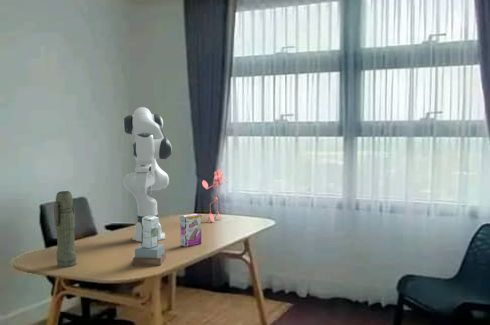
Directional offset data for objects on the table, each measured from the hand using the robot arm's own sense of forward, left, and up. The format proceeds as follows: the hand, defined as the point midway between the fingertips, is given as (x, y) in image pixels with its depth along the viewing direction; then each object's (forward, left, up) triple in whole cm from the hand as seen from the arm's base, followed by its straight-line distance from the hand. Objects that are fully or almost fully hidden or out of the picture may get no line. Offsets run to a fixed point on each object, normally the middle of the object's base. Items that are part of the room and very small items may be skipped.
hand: (146, 196), depth 262 cm
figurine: (-104, +23, -32) cm, 111 cm away
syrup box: (+1, +1, -24) cm, 24 cm away
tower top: (+1, +1, -28) cm, 28 cm away
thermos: (+6, -38, -32) cm, 50 cm away
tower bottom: (+1, +1, -32) cm, 32 cm away
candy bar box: (-35, +15, -32) cm, 50 cm away
